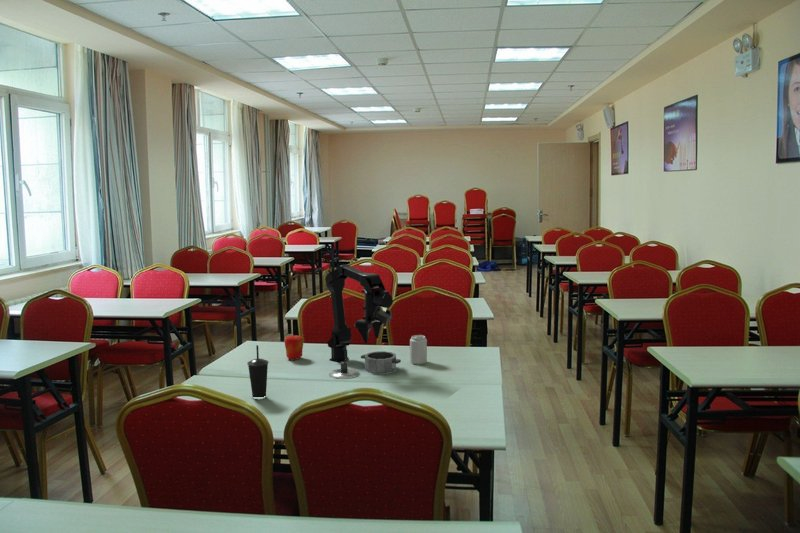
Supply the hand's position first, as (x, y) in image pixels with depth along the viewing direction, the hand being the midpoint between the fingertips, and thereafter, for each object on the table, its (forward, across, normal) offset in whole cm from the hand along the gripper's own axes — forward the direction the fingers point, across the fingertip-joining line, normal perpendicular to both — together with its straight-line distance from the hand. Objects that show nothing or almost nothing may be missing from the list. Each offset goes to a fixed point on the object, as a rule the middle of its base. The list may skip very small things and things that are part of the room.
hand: (371, 340), depth 269 cm
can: (+13, +19, -13) cm, 27 cm away
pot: (+13, +3, -2) cm, 14 cm away
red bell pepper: (+14, +1, +41) cm, 43 cm away
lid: (+14, -9, +8) cm, 18 cm away
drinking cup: (+13, -48, +21) cm, 54 cm away
